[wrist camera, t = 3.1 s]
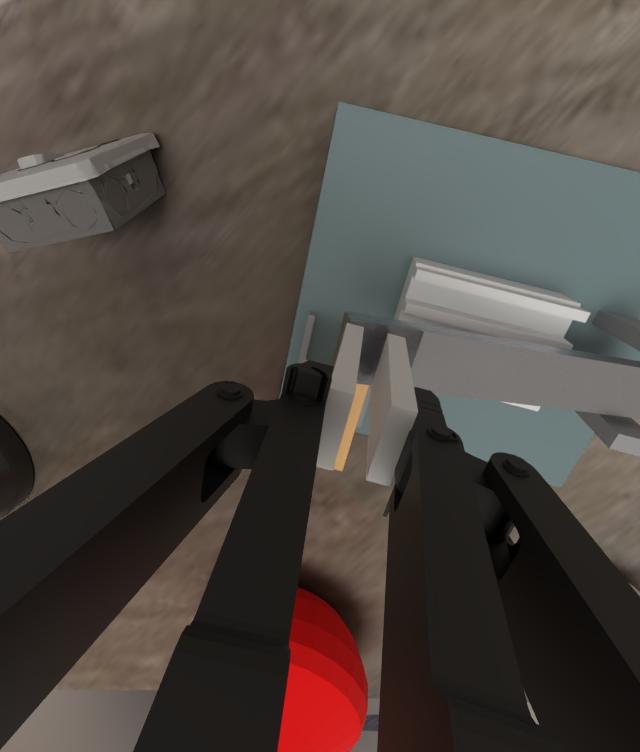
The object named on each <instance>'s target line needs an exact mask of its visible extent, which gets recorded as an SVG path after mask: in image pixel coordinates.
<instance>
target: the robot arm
mask: <svg viewBox="0 0 640 752" xmlns="http://www.w3.org/2000/svg"><path fill="white" fill-rule="evenodd" d="M363 332H364V327H361V326H358V325H354V324H350V323H347V325H346V328H345V332H344V335H343V339H342V342H341V346H340V350H339V353H338V357H337V360H336V364H335V367H334V366H330V365H326V364H322V363H319V362H315V361H311V360H308V361H306V362H304V363H295V364H292V365H289V366H288V367H287V368H286V373H285V378H284V383H283V388H282V393H281V396H280V399H277V400H271V401H262V400H253V399H254V395H253V391H252V390H251V389H250V388H249V387H247V386H245V385H243V384H240V383H236V382H233V381H230V382H229V381H221V382H215V383H213V384H210V385H208V386H207V387H205V388H204V389H202V390H201V391H199V392H197V393H196V394H194V395H193V396H191V397H190V398H188V399H187V400H185V401H184V402H182V403H181V404H179V405H177V406H176V407H174V408H173V409H171V410H170V411H168V412H167V413H165V414H164V415H162V416H161V417H159V418H157V419H156V420H154V421H153V422H151V423H150V424H148V425H147V426H145V427H144V428H142V429H141V430H139V431H137V432H136V433H134V434H133V435H131V436H130V437H128V438H127V439H125V440H124V441H122V442H121V443H119V444H117V445H116V446H114V447H113V448H111V449H110V450H108V451H107V452H105V453H104V454H102V455H101V456H99V457H97V458H96V459H94V460H93V461H91V462H90V463H88V464H87V465H85V466H84V467H82V468H81V469H79V470H77V471H76V472H74V473H73V474H71V475H70V476H68V477H67V478H65V479H64V480H62V481H61V482H59V483H57V484H56V485H54V486H53V487H51V488H50V489H48V490H47V491H45V492H44V493H42V494H41V495H39V496H37V497H36V498H34V499H33V500H31V501H30V502H28V503H27V504H25V505H24V506H22V507H21V508H19V509H17V510H16V511H14V512H13V513H11V514H10V515H8V516H7V517H5V518H4V519H2V520H1V521H0V749H1V748H2V747H3V746H4V745H5V744H6V742H7V741H8V740H9V739H10V738H11V737H12V736H13V734H14V733H15V732H16V731H17V730H18V729H19V728H20V726H21V725H22V724H23V723H24V722H25V720H26V719H27V718H28V717H29V716H30V715H31V714H32V713H33V711H34V710H35V709H36V708H37V707H38V706H39V704H40V703H41V702H42V701H43V700H44V699H45V698H46V697H47V695H48V694H49V693H50V692H51V691H52V690H53V689H54V687H55V686H56V685H57V684H58V683H59V682H60V680H61V679H62V678H63V677H64V676H65V675H66V674H67V672H68V671H69V670H70V669H71V668H72V667H73V666H74V664H75V663H76V662H77V661H78V660H79V659H80V658H81V656H82V655H83V654H84V653H85V652H86V651H87V649H88V648H89V647H90V646H91V645H92V644H93V643H94V641H95V640H96V639H97V638H98V637H99V636H100V635H101V633H102V632H103V631H104V630H105V629H106V628H107V627H108V625H109V624H110V623H111V622H112V621H113V620H114V619H115V617H116V616H117V615H118V614H119V613H120V612H121V610H122V609H123V608H124V607H125V606H126V605H127V604H128V602H129V601H130V600H131V599H132V598H133V597H134V596H135V594H136V593H137V592H138V591H139V590H140V589H141V588H142V586H143V585H144V584H145V583H146V582H147V581H148V579H149V578H150V577H151V576H152V575H153V574H154V573H155V571H156V570H157V569H158V568H159V567H160V566H161V565H162V563H163V562H164V561H165V560H166V559H167V558H168V557H169V555H170V554H171V553H172V552H173V551H174V550H175V549H176V547H177V546H178V545H179V544H180V543H181V542H182V540H183V539H184V538H185V537H186V536H187V535H188V534H189V532H190V531H191V530H192V529H193V528H194V527H195V526H196V524H197V523H198V522H199V521H200V520H201V519H202V518H203V516H204V515H205V514H206V513H207V512H208V511H209V510H210V508H211V507H212V506H213V505H214V504H215V503H216V501H217V500H218V499H219V498H220V497H221V496H222V495H223V493H224V492H225V491H226V490H227V489H228V488H229V487H230V485H231V484H232V483H233V482H234V481H235V480H236V479H237V477H238V476H239V475H240V473H241V471H242V469H252V471H251V473H250V476H249V479H248V481H247V484H246V486H245V489H244V492H243V494H242V497H241V499H240V502H239V504H238V507H237V510H236V512H235V515H234V517H233V520H232V522H231V525H230V528H229V530H228V533H227V535H226V538H225V541H224V543H223V546H222V548H221V551H220V553H219V556H218V559H217V561H216V564H215V566H214V569H213V572H212V574H211V577H210V579H209V582H208V584H207V587H206V590H205V592H204V595H203V597H202V600H201V603H200V605H199V608H198V610H197V613H196V615H195V617H194V620H193V621H192V623H191V624H190V625H187V626H186V627H185V629H184V631H183V632H182V634H181V636H180V638H179V641H178V643H177V645H176V647H175V650H174V652H173V654H172V657H171V659H170V662H169V664H168V667H167V669H166V672H165V674H164V677H163V679H162V682H161V684H160V687H159V689H158V692H157V694H156V696H155V699H154V702H153V704H152V706H151V709H150V711H149V714H148V716H147V719H146V721H145V724H144V726H143V729H142V731H141V734H140V736H139V738H138V741H137V744H136V746H135V748H134V751H133V752H277V750H278V743H279V737H280V730H281V723H282V716H283V709H284V702H285V695H286V688H287V681H288V674H289V666H290V656H291V649H290V648H289V641H290V633H291V627H292V620H293V614H294V607H295V601H296V594H297V588H298V581H299V575H300V568H301V562H302V555H303V549H304V542H305V536H306V529H307V523H308V516H309V510H310V503H311V497H312V490H313V484H314V477H315V471H316V467H319V468H323V469H327V470H330V471H333V468H334V464H335V461H336V457H337V454H338V451H339V447H340V444H341V440H342V437H343V434H344V430H345V427H346V423H347V420H348V417H349V413H350V410H351V406H352V403H353V400H354V396H355V390H356V383H357V376H358V368H359V361H360V354H361V346H362V339H363ZM442 413H443V411H442V408H441V404H440V401H439V398H438V397H437V396H436V395H435V394H434V393H433V392H432V391H430V390H426V389H422V388H418V387H414V385H413V379H412V374H411V368H410V362H409V357H408V351H407V345H406V340H405V338H404V337H400V336H396V335H393V334H389V333H388V335H387V338H386V341H385V345H384V348H383V351H382V354H381V357H380V361H379V364H378V367H377V370H376V373H375V377H374V380H373V383H372V386H371V394H370V412H369V430H368V448H367V466H366V480H367V481H371V482H374V483H378V484H382V485H385V486H389V487H390V485H391V482H392V479H393V477H394V474H395V482H396V483H395V486H394V488H393V491H392V494H391V496H390V499H389V501H388V504H387V506H386V509H385V512H384V514H383V516H385V517H387V515H388V512H389V531H388V551H387V571H386V590H385V610H384V630H383V649H382V669H381V688H380V709H379V728H378V748H377V752H640V596H639V595H638V594H637V592H636V591H635V590H634V589H633V588H632V586H631V585H630V584H629V583H628V581H627V580H626V579H625V578H624V577H623V575H622V574H621V573H620V572H619V570H618V569H617V568H616V567H615V565H614V564H613V563H612V562H611V561H610V559H609V558H608V557H607V556H606V554H605V553H604V552H603V551H602V549H601V548H600V547H599V546H598V545H597V543H596V542H595V541H594V540H593V538H592V537H591V536H590V535H589V534H588V532H587V531H586V530H585V529H584V527H583V526H582V525H581V524H580V522H579V521H578V520H577V519H576V518H575V516H574V515H573V514H572V513H571V511H570V510H569V509H568V508H567V506H566V505H565V504H564V503H563V502H562V500H561V499H560V498H559V497H558V495H557V494H556V493H555V492H554V490H553V489H552V488H551V487H550V486H549V484H548V483H547V482H546V481H545V479H544V478H543V477H542V476H541V475H540V473H539V472H538V471H537V470H536V469H535V468H534V467H533V466H532V465H531V464H529V463H528V462H526V461H525V460H524V459H522V458H520V457H517V456H516V455H513V454H508V453H504V452H496V453H494V454H492V455H491V457H490V459H489V461H488V462H486V461H484V460H482V459H479V458H477V457H475V456H473V455H471V454H469V453H467V452H465V450H464V446H463V442H462V440H461V438H460V436H459V435H458V434H457V433H456V432H454V431H453V430H451V429H450V428H448V427H447V425H446V421H445V418H444V415H443V414H442ZM33 480H34V474H33V467H32V463H31V460H30V457H29V455H28V453H27V451H26V449H25V447H24V445H23V444H22V442H21V440H20V439H19V438H18V436H17V435H16V434H15V432H14V431H13V430H12V429H11V428H10V427H9V426H8V425H7V424H6V423H5V422H4V421H3V420H2V419H1V418H0V518H1V517H3V516H5V515H6V514H8V513H9V512H10V511H11V510H13V509H14V508H15V507H16V506H18V505H19V504H20V503H21V502H22V501H24V500H25V499H26V498H27V496H28V495H29V493H30V492H31V489H32V486H33ZM514 526H515V527H516V529H517V531H518V533H519V537H520V538H519V540H518V541H517V543H516V544H514V543H513V541H512V540H511V538H510V536H509V535H510V533H511V531H512V530H513V528H514ZM523 688H524V689H523ZM524 690H525V693H526V695H527V697H528V699H529V702H530V704H531V706H532V709H533V711H534V713H535V715H536V718H537V720H538V722H539V725H540V726H538V725H537V724H536V723H535V722H534V720H533V719H532V717H531V714H530V711H529V709H528V706H527V701H526V697H525V693H524Z"/></svg>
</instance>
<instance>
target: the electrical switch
mask: <svg viewBox="0 0 640 752" xmlns="http://www.w3.org/2000/svg"><path fill="white" fill-rule="evenodd" d="M157 147H160V146H159V143H158V141H157V139H156V137H155V135H154V133H141V134H137V135H134V136H130V137H126V138H122V139H118V140H114V141H110V142H107V143H104V144H100V145H96V146H93V147H89V148H85V149H82V150H78V151H74V152H70V153H67V154H35V155H31V156H26V157H22V158H19V159H18V163H19V166H20V168H17V169H15V170H12V171H9V172H6V173H3V174H0V241H1V242H2V244H3V245H4V247H5V248H6V249H7V251H8V252H9V253H13V252H17V251H22V250H27V249H31V248H36V247H41V246H45V245H50V244H55V243H59V242H64V241H69V240H73V239H78V238H83V237H87V236H92V235H96V234H101V233H106V232H110V231H114V230H115V229H114V227H115V228H116V230H117V229H118V228H119V227H121V226H122V225H123V224H125V223H126V222H127V221H129V220H130V219H132V218H133V217H134V216H136V215H137V214H138V213H140V212H141V211H142V210H144V209H145V208H147V207H148V206H149V205H151V204H152V203H153V202H155V201H156V200H157V199H159V198H160V197H162V196H163V195H164V194H166V192H165V190H164V187H163V185H162V183H161V180H160V178H159V176H158V172H157V167H156V165H155V163H154V160H153V158H152V155H151V151H150V149H154V148H157ZM106 213H107V214H106ZM107 215H108V216H107ZM108 217H109V218H110V219H109V218H108ZM110 220H111V221H110ZM111 222H112V223H113V225H114V227H113V225H112V223H111ZM94 226H95V227H94Z"/></svg>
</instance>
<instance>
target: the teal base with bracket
mask: <svg viewBox="0 0 640 752" xmlns="http://www.w3.org/2000/svg"><path fill="white" fill-rule="evenodd" d="M345 311H347V312H353V313H359V314H365V315H371V316H377V317H383V318H389V319H394V320H400V321H406V322H412V323H418V324H424V325H430V326H436V327H441V328H447V329H453V330H459V331H465V332H471V333H477V334H483V335H489V336H494V337H500V338H506V339H512V340H518V341H524V342H530V343H536V344H541V345H547V346H553V347H559V348H565V349H571V350H577V351H583V352H588V353H594V354H600V355H606V356H612V357H618V358H624V359H630V360H636V361H640V172H635V171H631V170H627V169H623V168H619V167H614V166H610V165H606V164H602V163H597V162H593V161H589V160H585V159H580V158H576V157H572V156H568V155H563V154H559V153H555V152H551V151H547V150H542V149H538V148H534V147H530V146H525V145H521V144H517V143H513V142H508V141H504V140H500V139H496V138H491V137H487V136H483V135H479V134H474V133H470V132H466V131H462V130H458V129H453V128H449V127H445V126H441V125H436V124H432V123H428V122H424V121H419V120H415V119H411V118H407V117H402V116H398V115H394V114H390V113H386V112H381V111H377V110H373V109H369V108H364V107H360V106H356V105H352V104H347V103H343V102H339V103H338V108H337V113H336V118H335V123H334V128H333V133H332V138H331V143H330V148H329V153H328V158H327V163H326V168H325V173H324V178H323V183H322V188H321V193H320V198H319V203H318V208H317V213H316V218H315V223H314V228H313V233H312V238H311V243H310V248H309V253H308V258H307V262H306V267H305V272H304V277H303V282H302V287H301V292H300V297H299V302H298V307H297V312H296V317H295V322H294V327H293V332H292V337H291V342H290V347H289V352H288V357H287V362H286V367H285V372H284V377H283V382H282V387H281V392H280V396H281V393H282V388H283V383H284V378H285V373H286V368H287V367H288V366H289V365H292V364H295V363H303V362H304V360H311V361H315V362H319V363H322V364H326V365H330V366H331V363H332V359H333V355H334V351H335V347H336V343H337V340H338V336H339V332H340V328H341V324H342V320H343V316H344V312H345ZM370 394H371V385H369V386H368V390H367V393H366V396H365V399H364V403H363V406H362V409H361V412H360V416H359V419H358V422H357V425H356V429H355V432H357V433H360V434H364V435H368V430H369V412H370ZM434 394H435V395H436V396H437V397H438V398H439V401H440V404H441V408H442V411H443V413H442V414H443V415H444V418H445V421H446V425H447V427H448V428H450V429H451V430H453V431H454V432H456V433H457V434H458V435H459V436H460V438H461V440H462V442H463V446H464V450H465V452H467V453H469V454H471V455H473V456H475V457H477V458H479V459H482V460H484V461H486V462H488V461H489V459H490V457H491V455H492V454H494V453H496V452H504V453H508V454H513V455H516V456H517V457H520V458H522V459H524V460H525V461H526V462H528V463H529V464H531V465H532V466H533V467H534V468H535V469H536V470H537V471H538V472H539V473H540V475H541V476H542V477H543V478H544V479H545V481H546V482H547V483H548V484H549V485H552V486H556V487H560V488H561V487H562V485H563V484H564V482H565V480H566V479H567V477H568V476H569V474H570V472H571V471H572V469H573V468H574V466H575V464H576V463H577V461H578V460H579V458H580V457H581V455H582V453H583V452H584V450H585V449H586V447H587V445H588V444H589V442H590V441H591V439H592V437H593V436H594V434H596V435H597V436H598V437H599V438H600V439H601V440H602V441H603V442H604V443H605V444H606V446H607V447H608V448H609V449H613V450H617V451H621V452H624V453H628V454H632V455H636V456H640V425H639V424H637V423H636V422H635V421H634V420H633V419H632V418H629V417H621V416H613V415H605V414H597V413H589V412H581V411H573V410H565V409H557V408H548V407H540V406H532V405H524V404H516V403H508V402H500V401H492V400H484V399H476V398H468V397H460V396H452V395H444V394H436V393H434ZM279 399H280V397H279Z"/></svg>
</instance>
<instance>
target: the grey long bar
mask: <svg viewBox="0 0 640 752" xmlns="http://www.w3.org/2000/svg"><path fill="white" fill-rule="evenodd" d="M347 323H350V324H354V325H358V326H361V327H364V332H363V339H362V346H361V354H360V361H359V368H358V376H357V383H356V384H363V385H371V386H372V383H373V380H374V377H375V373H376V370H377V367H378V364H379V361H380V357H381V354H382V351H383V348H384V345H385V341H386V338H387V335H388V333H389V334H393V335H396V336H400V337H404V338H405V340H406V345H407V351H408V357H409V362H410V368H411V374H412V379H413V385H414V387H418V388H422V389H426V390H430V391H432V392H433V393H436V394H444V395H452V396H460V397H468V398H476V399H484V400H492V401H500V402H508V403H516V404H524V405H532V406H540V407H548V408H557V409H565V410H573V411H581V412H589V413H597V414H605V415H613V416H621V417H629V418H637V419H640V361H636V360H630V359H624V358H618V357H612V356H606V355H600V354H594V353H588V352H583V351H577V350H571V349H565V348H559V347H553V346H547V345H541V344H536V343H530V342H524V341H518V340H512V339H506V338H500V337H494V336H489V335H483V334H477V333H471V332H465V331H459V330H453V329H447V328H441V327H436V326H430V325H424V324H418V323H412V322H406V321H400V320H394V319H389V318H383V317H377V316H371V315H365V314H359V313H353V312H347V311H345V312H344V316H343V320H342V324H341V328H340V332H339V336H338V340H337V343H336V347H335V351H334V355H333V359H332V363H331V366H334V367H335V364H336V360H337V357H338V353H339V350H340V346H341V342H342V339H343V335H344V332H345V328H346V325H347Z"/></svg>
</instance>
